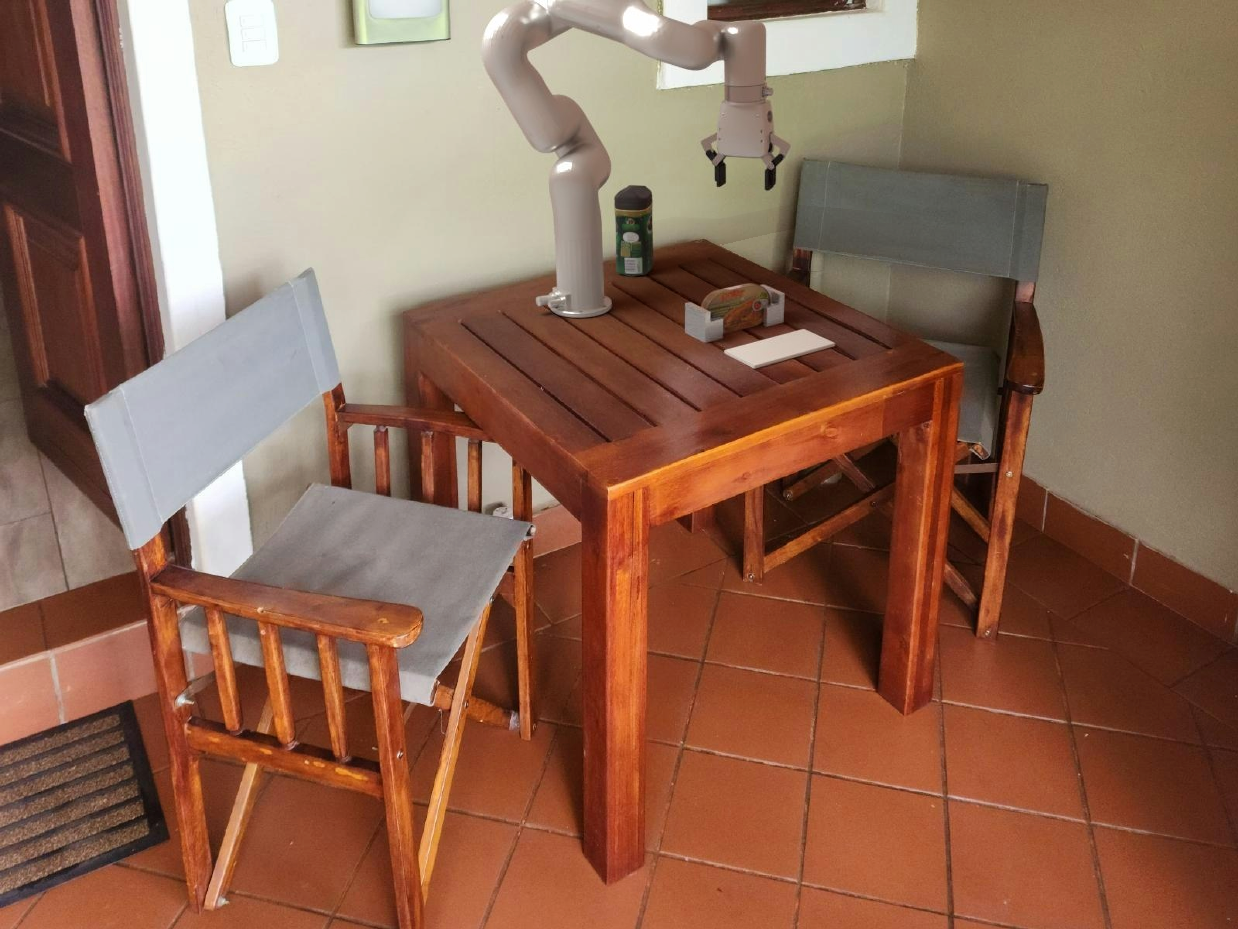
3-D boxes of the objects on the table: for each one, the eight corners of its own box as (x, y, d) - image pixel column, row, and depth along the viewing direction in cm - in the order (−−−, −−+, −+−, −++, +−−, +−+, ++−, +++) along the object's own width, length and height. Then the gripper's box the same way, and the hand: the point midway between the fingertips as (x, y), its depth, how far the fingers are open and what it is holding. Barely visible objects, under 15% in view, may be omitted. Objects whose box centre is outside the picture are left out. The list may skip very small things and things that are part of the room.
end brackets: (783, 322, 232) (784, 293, 229) (704, 342, 223) (705, 313, 220) (762, 312, 237) (763, 284, 234) (685, 332, 228) (685, 303, 225)
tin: (705, 337, 226) (706, 295, 222) (697, 332, 228) (697, 291, 224) (771, 323, 232) (772, 282, 228) (762, 318, 234) (763, 277, 230)
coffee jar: (622, 262, 267) (621, 181, 259) (656, 264, 265) (656, 183, 257) (611, 276, 259) (609, 192, 250) (646, 278, 257) (645, 194, 249)
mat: (754, 368, 211) (754, 365, 211) (724, 353, 218) (724, 350, 218) (834, 346, 220) (834, 343, 220) (803, 331, 227) (803, 328, 227)
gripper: (797, 91, 213) (795, 185, 221) (709, 88, 220) (710, 179, 228) (783, 99, 207) (782, 195, 215) (693, 95, 215) (695, 188, 222)
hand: (745, 187), depth 222 cm, fingers open, 9 cm apart
